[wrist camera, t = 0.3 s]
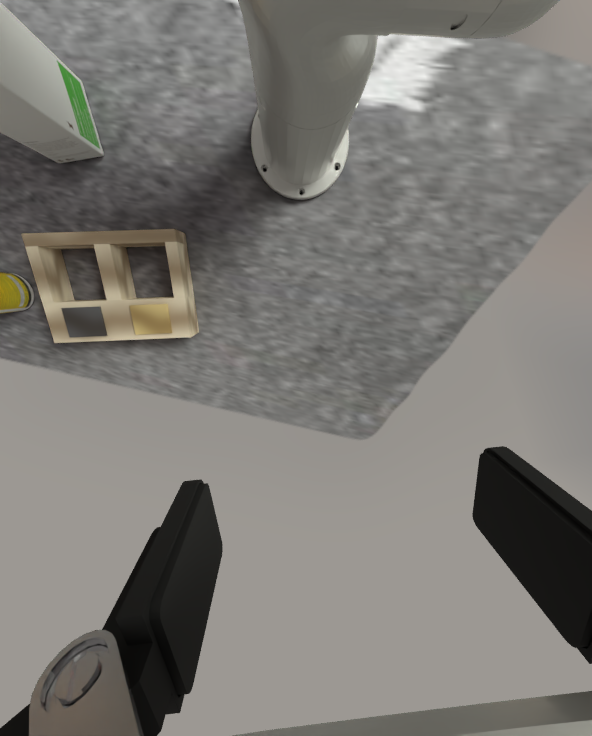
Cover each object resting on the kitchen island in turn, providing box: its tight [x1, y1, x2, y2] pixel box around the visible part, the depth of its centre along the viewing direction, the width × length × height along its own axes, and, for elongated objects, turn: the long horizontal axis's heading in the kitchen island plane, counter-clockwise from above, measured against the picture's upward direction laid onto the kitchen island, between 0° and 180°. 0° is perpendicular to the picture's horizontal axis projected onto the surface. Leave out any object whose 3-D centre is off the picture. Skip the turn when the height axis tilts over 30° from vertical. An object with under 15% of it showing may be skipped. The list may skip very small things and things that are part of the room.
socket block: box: [21, 229, 199, 343], centre depth 39 cm, size 14×19×4 cm
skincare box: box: [0, 2, 104, 164], centre depth 28 cm, size 8×7×16 cm
